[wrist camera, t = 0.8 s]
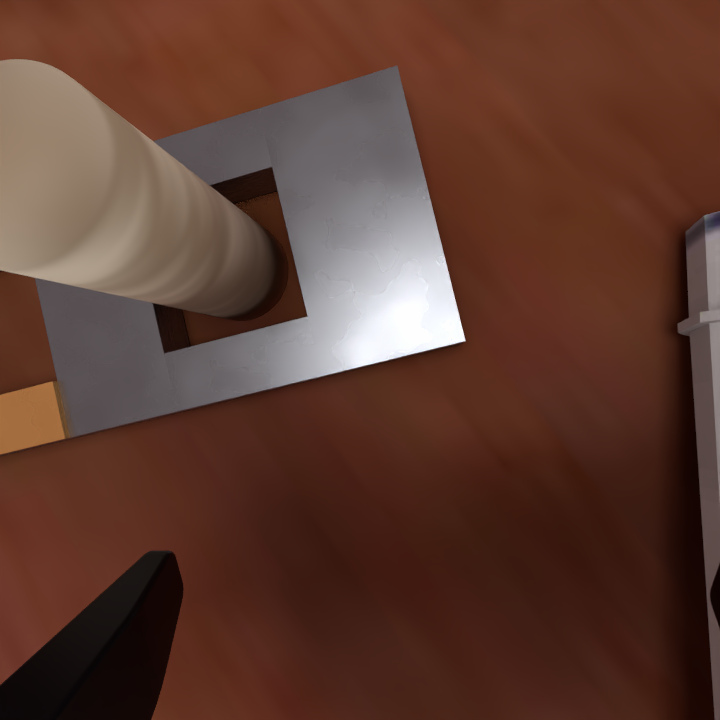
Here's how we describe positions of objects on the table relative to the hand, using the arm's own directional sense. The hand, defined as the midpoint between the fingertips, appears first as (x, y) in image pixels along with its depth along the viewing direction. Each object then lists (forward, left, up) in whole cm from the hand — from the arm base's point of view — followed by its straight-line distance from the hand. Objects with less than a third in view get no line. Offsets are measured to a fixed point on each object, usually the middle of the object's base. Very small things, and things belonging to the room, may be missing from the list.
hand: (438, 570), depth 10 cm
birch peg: (+2, +11, -13) cm, 17 cm away
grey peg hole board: (-2, +14, -13) cm, 19 cm away
